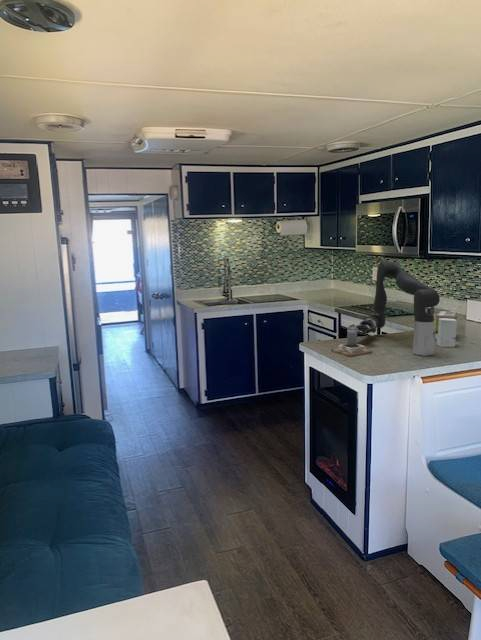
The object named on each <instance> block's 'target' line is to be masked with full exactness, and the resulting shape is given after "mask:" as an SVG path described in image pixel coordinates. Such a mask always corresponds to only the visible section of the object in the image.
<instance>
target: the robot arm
mask: <svg viewBox="0 0 481 640" xmlns="http://www.w3.org/2000/svg"><path fill="white" fill-rule="evenodd" d="M376 270H377V271H376V285H375V296H374V299H373V300H374V301H373V305H372V310H373V311H374V312H375V313H378V314H374V313H371V314H369V315H368V316H367V318H366V319H363V320H362V321H360V323H359V324H357V325H355V324H351V325H349V326H348V327H357V333H358V332H361V333H363V334H371V333H372V334H375V333H376V332H377V329H378V328H379V329H382V328H384V327H385V325H386V307H387V300H388V296H387V292H386V289H385V286H384V279H385V278H388V279H394V280H395V284H396V286H397V287H398V289H400V290H401V291H402V292H404V293H405V294H408V295H410V296H411V295H412V296H413V317H414V320H413V321H414V322H413V323H414V324H413V325H414V327H413V342H412V343H413V347H412V353H413V354H414V355H417V356H422V357H423V356H424V357H428V356H432V355H433V356H434V354H435V340H436V339H435V336H434V330H435V329H434V328H435V315H434V316H433V315H431V314H428V313H426V311H425V308H426V307H434V308H435V307H437V306H438V305H439V303H440V301H441V298H440V295H439V293H438V291H437V290H435V289H434V288H432V287H430V286H428V285H426V284H424V282H422V281H420V280H418V279H417V278H415V277H414V276H413V275H412V274H410V273H408V271H405V270H404V269H403V268H402V267H401V266H400V265H399V264H398V263H397V262H394V261H380V263H379V264H378V265H377V269H376Z"/></svg>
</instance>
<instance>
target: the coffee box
mask: <svg viewBox="0 0 481 640" xmlns="http://www.w3.org/2000/svg"><path fill="white" fill-rule="evenodd" d="M425 311H426V313H428V314H431V315H433V316H434V317H435V315H434V314H435V306H434V307H426V308H425Z"/></svg>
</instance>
